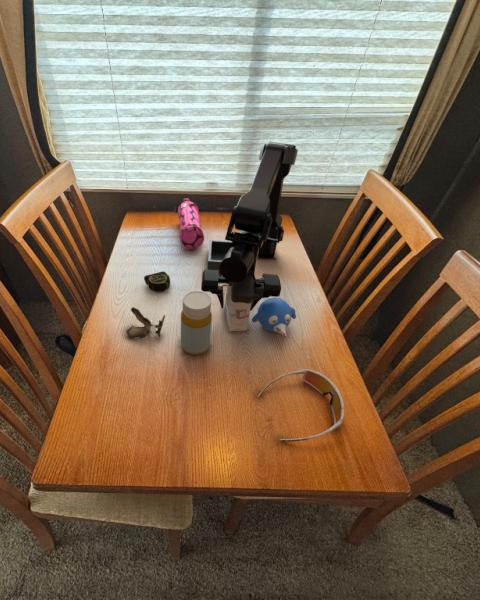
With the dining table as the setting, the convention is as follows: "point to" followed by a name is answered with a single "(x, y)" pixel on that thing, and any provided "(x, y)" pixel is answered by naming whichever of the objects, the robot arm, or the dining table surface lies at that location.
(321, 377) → the sunglasses
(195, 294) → the bottle
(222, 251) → the holder
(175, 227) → the dining table surface
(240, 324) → the ink box
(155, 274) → the tape measure
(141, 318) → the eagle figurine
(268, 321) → the blue mole toy
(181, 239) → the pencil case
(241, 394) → the dining table surface
